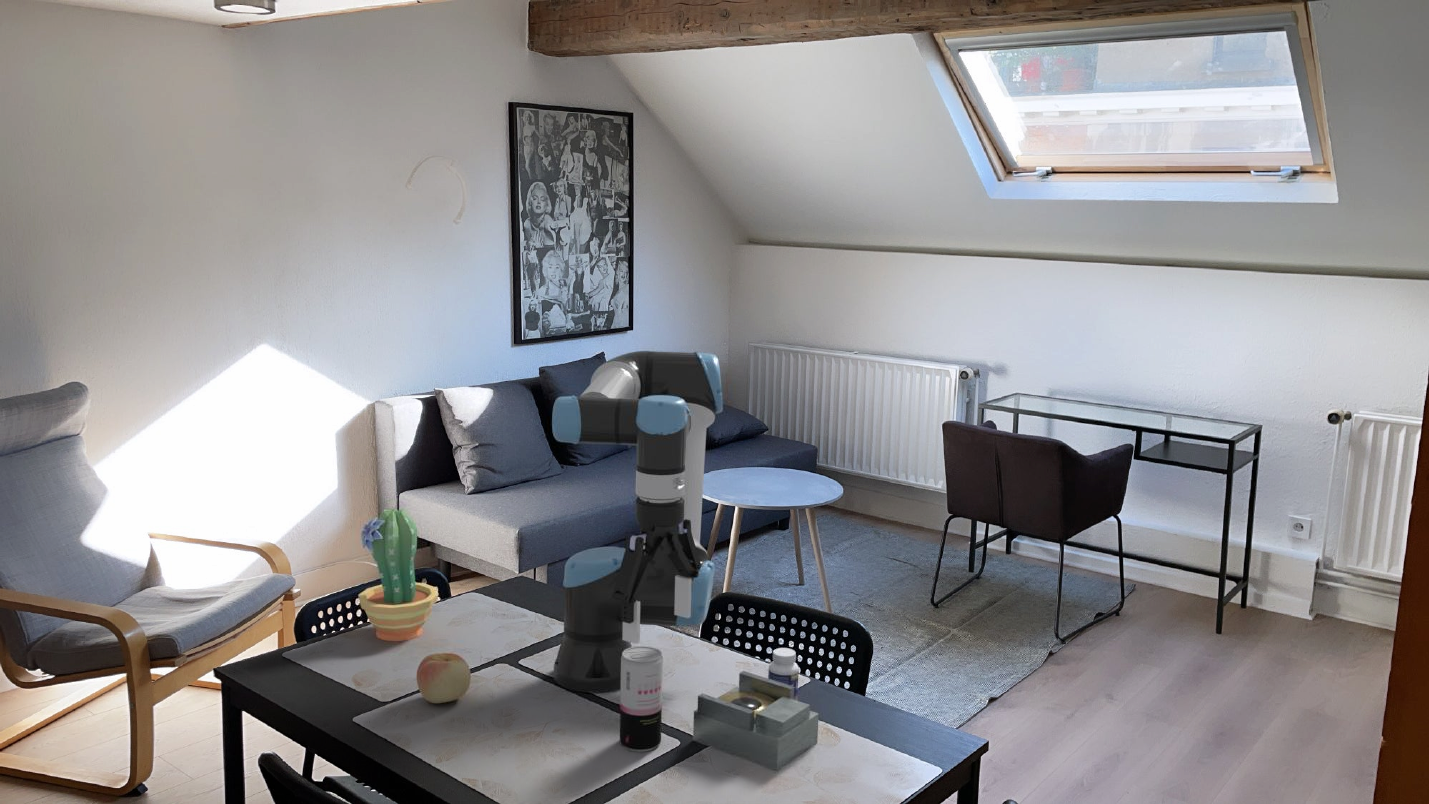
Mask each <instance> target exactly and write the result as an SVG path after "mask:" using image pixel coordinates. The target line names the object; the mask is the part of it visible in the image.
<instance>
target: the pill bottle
mask: <svg viewBox="0 0 1429 804" xmlns="http://www.w3.org/2000/svg"><path fill="white" fill-rule="evenodd" d="M772 660H773V661H771V662H770V663H769V665H768V670H767V671H768V675H767V676H768V677H767V678H768V679H771V680H774V681H778V682H781V683H784V684H787V685H790V686H794V700H796V701H798V695H799V694H798V689H799V674H800V672H799V671H800V670H799V665H798V663H796V660H797V655H796V651H795V650H794V649H792V648H788V647H778V648H776V649H774V650H773V651H772Z"/></svg>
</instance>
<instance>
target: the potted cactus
mask: <svg viewBox="0 0 1429 804" xmlns="http://www.w3.org/2000/svg"><path fill="white" fill-rule="evenodd" d="M360 538H361V541H362V547H363V549H364V548H367V549H368V550H369V552H371V555H372V558H373V560H374V562H375V564H376V566H377V569H378V572H379V577H380V582H381V584H379V585H374V586H372V587H367V588H365V590H363V591H362V592H360V593H359V594H358V599H359V604H360V608H361V609H362V610H364V612H365V613H366V616H367V619H368V621H369V622H370V624H371V625H372V626H373V627H374V629H375V631H376V632H375V634H376V637H377V638H378V639H380V640H383V641H387V642H399V641H400V642H401V641H408V640H413V639H415V638H417V637H420V636H421V635H422V634H423V633H424V632H423V629H422V628H423V626H424V625H425V623H426V621H427V620H428V618H430V615H431V612H432V609H433V606H434V604H436V603H437V602H438V598H439V592H438V588H437V587H435V586H432V585H429V584H427V583H425V582H416V575H415V564H414V563H415V562H414V560H415V556H416V552H417V546H418V526H417V524H416V523H415V522H414V520H413V519H412V518H411V517H410V515H409V513H408V512H407V511H406V510H405V509H404V508H401V509H397V507H392V508H391V510H387V509H383V511H382V512H381V514H380V515H379V517H377V516H376V517H374V518H373V519H371V520H369V521H368V522H366V524H364V526H363V528H362V531H361V535H360Z"/></svg>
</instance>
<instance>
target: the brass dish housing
mask: <svg viewBox="0 0 1429 804" xmlns="http://www.w3.org/2000/svg"><path fill="white" fill-rule="evenodd" d="M738 674H739V676H738V677H739V678H738V687H737V686H736V687H734V688H732V689H730V690H729V691H727V692H725V693H723V694H721V695H720V696H718V697H714V696H712V695H708V694H705V693H700V694H699V695H697V708H696V709H695V710H693V727H692V728H693V733H692V741H694V742H697V743H700V744H701V745H705V746H707V747H710V748H713V749H715V750H719V751H721V752H724V753H726V754H729V755H732V756H733V757H737V758H740V759H742V760H746V761H748V762H751V763H753V764H756V765H759V766H762V767H764V768H767V769H770V770H772V771H775V772H779V770H782V768H784V767H785V766H786V765H788V764H789V763H791V762H793V761H794V760H795V759H797V758H798V757H799V756H801V755H802V754H803V753H805V752H806V751H808V750H809V749H811V748H812V747H814V746H815V745H816V744H818V735H819V713H818V712H815V711H812V710H811V705H810V704H808V703H805V702H802V701H799V700H797V701H796V700H794V686H790V685H787V684H784V683H781V682H778V681H774V680H771V679H768V677H764V676H761V675H757V674H755V673H752V672H748V671H745V670H743V671H741V672H739V673H738Z"/></svg>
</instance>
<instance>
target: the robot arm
mask: <svg viewBox="0 0 1429 804" xmlns="http://www.w3.org/2000/svg"><path fill="white" fill-rule="evenodd" d="M720 368H721V367H720V363H719V358H718V357H717V356H716V355H715V354H713V353H705V352H698V351H694V352H680V351H679V352H678V351H677V352H676V351H651V350H650V351H649V350H639V351H638V350H637V351H632V352H631V351H630V352H627V353H624V354H621V355H618V356H615V357H613V358H611V359H608V360H606V361H605V362H603V363H602V364H600V365H599V366H598V367H597V369H596V370H594V373H593V374H592V376H591V379H590V384H589V385H588V386H587V388H586V389H585V390H584V391H583V392H582V393H581V395H580V396H575V395H570V396H559V397H557V398H556V399H555V401H554V404H553V408H552V416H551V417H552V419H551V426H552V427H551V428H552V434H553V437H554V439H555V440H556V441H557V442H560V443H569V444H570V443H571V444H573V445H578V444H589V445H590V444H592V445H593V444H595V445H597V444H598V445H601V444H602V445H620V446H622V445H623V446H636V468H635V494H636V495H637V496H638V497H637V498H636V499H635V521H636V522H637V523H638V524H639V526H640V531H639V534H638V535H633V534H628V535H626V539H625V547H619V546H601V547H593V548H590V549H585V550H582V551H580V552H577V553H575V554H573V555H572V556H570V557H569V558H568V560H567V561H566V563H565V566H564V575H563V577H564V579H563V581H562V585H563V637H562V640H561V643H560V646H559V649H558V651H557V654H556V655H557V656H556V658H555V661H554V663H553V679H554V681H555V682H556V683H557V685H559V686H561V687H562V688H565V689H568V690H571V691H576V692H580V693H582V692H583V693H607V692H611V691H612V692H613V691H617V690H621V657H622V653H623V651H624V650H626V649H628V648H631V647H633V646H632V644H635V645H637V644H639V643H641V642H640V637H641V635H640V633H641V632H640V631H641V625H646V626H667V627H676V628H682V627H699V626H701V625H702V624H703V623H704V622H705V620H706V619H707V616H708V615H707V614H708V611H709V608H710V603H711V598H712V591H713V587H714V579H715V578H714V577H715V570H716V569H715V563H714V562H712V561H711V560H708V551H707V550H706V549H705V548H704V547H703V546H702V545H701V530H702V529H701V527H702V509H703V495H704V494H703V493H704V475H705V459H706V457H705V456H706V444H707V442H706V440H707V428H708V427H710V426H711V425H713V423H714V422H715V421H716V420H715V419H716V415H717V414H720V413H722V412H723V409H724V406H723V405H724V404H723V403H724V402H723V392H722V377H721V369H720Z"/></svg>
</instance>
